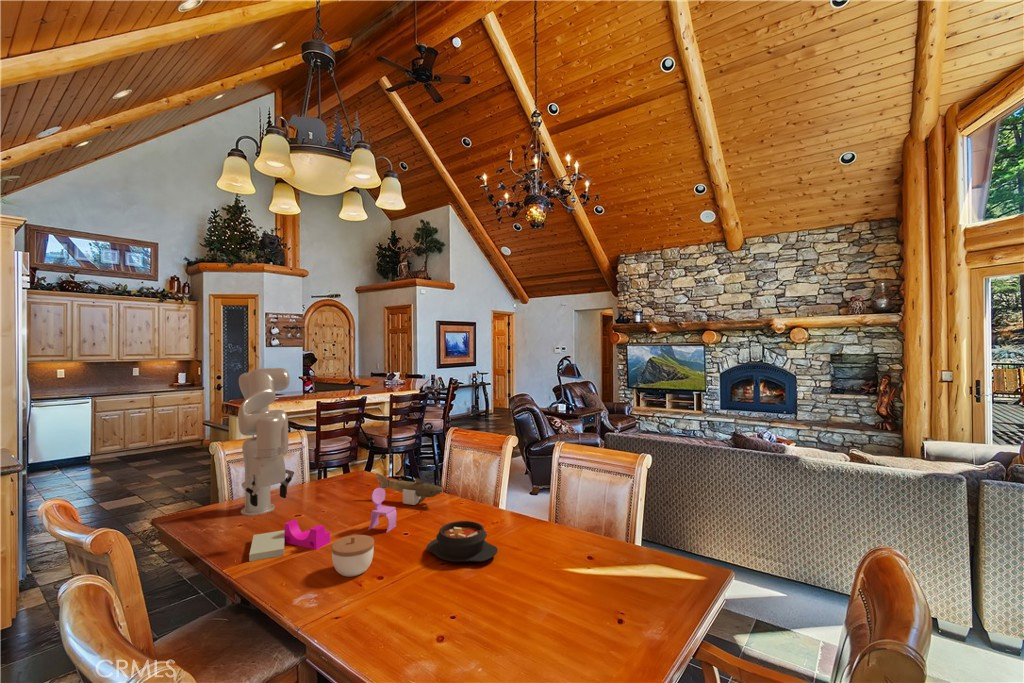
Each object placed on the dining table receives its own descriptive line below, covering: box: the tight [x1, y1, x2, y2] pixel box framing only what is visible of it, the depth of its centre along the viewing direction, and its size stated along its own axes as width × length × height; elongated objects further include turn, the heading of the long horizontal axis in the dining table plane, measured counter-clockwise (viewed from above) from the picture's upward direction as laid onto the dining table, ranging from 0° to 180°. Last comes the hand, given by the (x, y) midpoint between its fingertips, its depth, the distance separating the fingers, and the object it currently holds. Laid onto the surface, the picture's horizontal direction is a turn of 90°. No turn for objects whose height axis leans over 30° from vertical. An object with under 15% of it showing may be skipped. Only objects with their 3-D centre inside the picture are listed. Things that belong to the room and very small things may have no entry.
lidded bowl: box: [330, 534, 375, 578], centre depth 141 cm, size 13×13×11 cm
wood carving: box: [375, 472, 444, 506], centre depth 204 cm, size 9×35×11 cm, turn 68°
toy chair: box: [367, 487, 397, 533], centre depth 175 cm, size 8×9×15 cm
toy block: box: [283, 519, 331, 551], centre depth 162 cm, size 15×6×8 cm, turn 67°
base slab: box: [248, 529, 286, 562], centre depth 157 cm, size 17×10×4 cm, turn 25°
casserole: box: [426, 520, 499, 563], centre depth 153 cm, size 25×19×8 cm
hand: (269, 501), depth 158 cm, fingers open, 9 cm apart
